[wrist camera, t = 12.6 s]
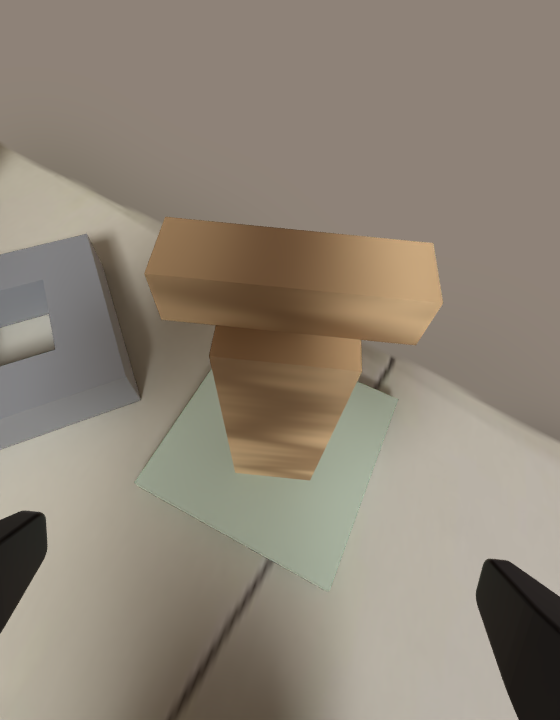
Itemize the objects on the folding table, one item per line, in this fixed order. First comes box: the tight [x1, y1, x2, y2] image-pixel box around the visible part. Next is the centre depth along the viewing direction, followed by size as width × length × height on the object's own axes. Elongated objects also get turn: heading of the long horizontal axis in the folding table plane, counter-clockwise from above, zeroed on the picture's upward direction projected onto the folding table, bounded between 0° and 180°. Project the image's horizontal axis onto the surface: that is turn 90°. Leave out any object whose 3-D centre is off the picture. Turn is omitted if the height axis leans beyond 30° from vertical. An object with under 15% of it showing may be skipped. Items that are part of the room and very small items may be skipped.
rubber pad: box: [134, 369, 398, 591], centre depth 22 cm, size 11×11×1 cm
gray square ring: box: [0, 234, 141, 450], centre depth 23 cm, size 12×12×3 cm
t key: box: [144, 217, 443, 481], centre depth 15 cm, size 7×4×14 cm, turn 85°
